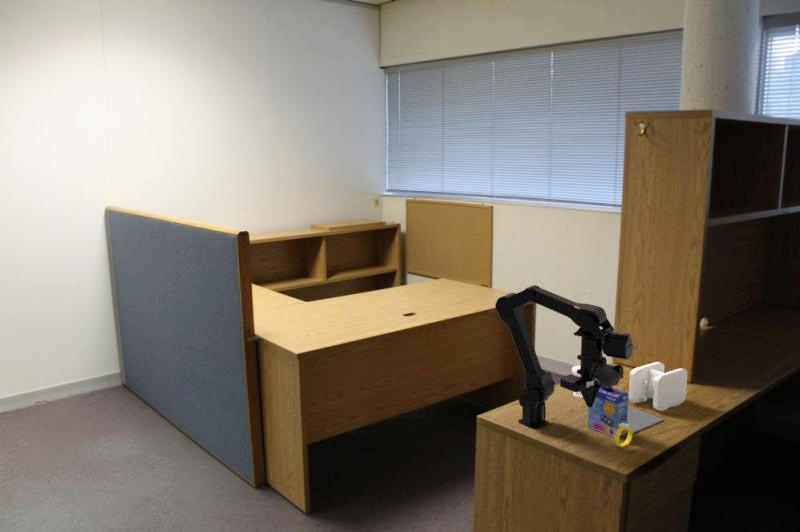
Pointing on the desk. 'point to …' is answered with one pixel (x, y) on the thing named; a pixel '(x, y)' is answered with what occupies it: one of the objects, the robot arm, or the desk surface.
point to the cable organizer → (658, 385)
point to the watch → (618, 433)
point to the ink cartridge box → (608, 411)
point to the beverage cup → (574, 370)
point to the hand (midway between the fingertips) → (589, 406)
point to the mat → (641, 419)
